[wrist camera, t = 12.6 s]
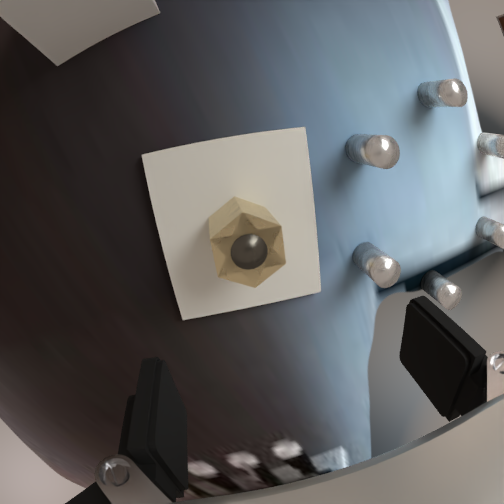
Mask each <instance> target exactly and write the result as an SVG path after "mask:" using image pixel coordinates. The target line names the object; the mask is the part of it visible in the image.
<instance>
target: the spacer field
mask: <svg viewBox="0 0 504 504" xmlns="http://www.w3.org/2000/svg"><path fill="white" fill-rule="evenodd" d="M418 96H419V99H420V101H421V103H422V104H423V105H425V106H426V107H462V106H464V105H465V104H466V102H467V90H466V88H465V86H464V84H463V83H462V82H461V81H460V80H458V79H447V80H439V81H431V82H424V83H422V84H420V86H419V88H418ZM478 148H479V151H480V152H481V153H482V154H484V155H490V156H495V157H500V158H504V135H499V134H491V133H481V134H480V135H479V137H478ZM346 153H347V155H348V157H349V158H350V159H351V160H352V161H353V162H356V163H361V164H365V165H370V166H374V167H378V168H383V169H389V168H392V167H393V166H394V165H395V164H396V163H397V161H398V159H399V154H400V151H399V146H398V144H397V142H396V141H395V140H394V139H393V138H392V137H390V136H387V135H367V134H355V135H353V136H351V137H350V138H349V139H348V141H347V143H346ZM476 233H477V235H478V236H479V237H481V238H483V239H485V240H487V241H489V242H491V243H493V244H495V245H497V246H499V247H501V248H503V249H504V224H501V223H499V222H496V221H494V220H492V219H489V218H487V217H481V218H480V219H479V221H478V222H477V225H476ZM353 261H354V263H355V264H356V265H357V266H358V267H359V268H360V269H361V270H362V271H363V272H364V273H365V274H367V275H368V276H369V277H370V278H371V279H372V280H373V281H374V282H375V283H376V284H377V285H378V286H380V287H382V288H387V287H390V286H392V285H393V284H394V283H395V282H396V281H397V280H398V278H399V276H400V272H401V268H400V265H399V263H398V262H397V261H395V260H394V259H393V258H391V257H390V256H388V255H387V254H386V253H384V252H383V251H381V250H380V249H379V248H377V247H376V246H374V245H373V244H371V243H369V242H364V243H361V244H360V245H358V246H357V247H356V249H355V250H354V253H353ZM421 288H422V289H423V290H424V291H425V292H427V293H428V294H429V295H430V296H431V297H433V298H434V299H435V300H436V301H438V302H439V303H440V304H441V305H443V306H444V307H445V308H446V309H448V310H450V309H453V308H454V307H456V306H457V305H458V303H459V302H460V300H461V297H462V290H461V289H460V288H459V287H457V286H456V285H455V284H453V283H452V282H450V281H449V280H447V279H446V278H445V277H443V276H442V275H440V274H439V273H437V272H436V271H434V270H431V271H428V272H427V273H426V274H425V275H424V276H423V278H422V281H421Z"/></svg>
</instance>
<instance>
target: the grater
mask: <svg viewBox="0 0 504 504" xmlns="http://www.w3.org/2000/svg"><path fill="white" fill-rule="evenodd" d="M157 14H160V11H159V9H158V6H157V4H156V2H155V0H0V17H1V18H3V19H4V20H5V21H6V22H7V23H8V24H9V25H11V26H12V27H13V28H14V29H15V30H16V31H18V32H19V33H20V34H21V35H22V36H23V37H25V38H26V39H27V40H28V41H29V42H30V43H31V44H33V45H34V46H35V47H36V48H37V49H38V50H39V51H41V52H42V53H43V54H44V55H45V56H46V57H47V58H49V59H50V60H51V61H52V62H53V63H54V64H55V65H57V66H59V65H60V64H62V63H64V62H65V61H67V60H68V59H70V58H72V57H73V56H75V55H77V54H78V53H80V52H82V51H83V50H85V49H87V48H89V47H91V46H92V45H94V44H96V43H98V42H100V41H102V40H103V39H105V38H107V37H109V36H111V35H113V34H115V33H117V32H119V31H121V30H123V29H125V28H127V27H130V26H132V25H134V24H136V23H138V22H141V21H143V20H145V19H148V18H150V17H152V16H155V15H157Z"/></svg>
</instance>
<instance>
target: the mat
mask: <svg viewBox="0 0 504 504" xmlns="http://www.w3.org/2000/svg"><path fill="white" fill-rule="evenodd" d="M142 160H143V165H144V170H145V175H146V179H147V184H148V189H149V193H150V198H151V202H152V207H153V211H154V215H155V220H156V224H157V228H158V232H159V236H160V240H161V244H162V248H163V252H164V256H165V260H166V263H167V267H168V271H169V274H170V278H171V282H172V285H173V289H174V292H175V296H176V299H177V303H178V306H179V309H180V313H181V316H182V319H183V320H186V319H192V318H197V317H203V316H208V315H213V314H219V313H224V312H229V311H234V310H239V309H244V308H249V307H254V306H259V305H264V304H268V303H273V302H278V301H282V300H287V299H291V298H296V297H300V296H305V295H309V294H313V293H318V292H321V284H320V268H319V254H318V241H317V229H316V218H315V207H314V197H313V188H312V178H311V170H310V161H309V153H308V145H307V137H306V130H305V127H299V128H290V129H281V130H273V131H265V132H258V133H251V134H244V135H238V136H232V137H226V138H220V139H214V140H209V141H203V142H198V143H193V144H188V145H183V146H178V147H173V148H169V149H164V150H160V151H156V152H151V153H147V154H143V155H142ZM234 196H235V197H238V198H241V199H244V200H246V201H249V202H252V203H255V204H258V205H261V206H263V207H266V209H267V210H268V211H269V212H270V213H271V214H272V215H273V217H274V218H275V219H276V220H277V221H278V222H279V223H280V225H281V226H282V234H283V242H284V250H285V259H286V264H285V265H284V266H282V267H281V268H280V269H279V270H277V271H276V272H275V273H274V274H272V275H271V276H270V277H269V278H267V279H266V280H265V281H264V282H262V283H261V284H260V285H258V286H257V287H256V288H253V287H250V286H246V285H243V284H239V283H236V282H232V281H229V280H226V279H222V278H219V277H218V276H217V271H216V266H215V261H214V257H213V252H212V247H211V242H210V234H209V219H208V218H209V217H210V216H211V215H212V214H214V213H215V212H216V211H217V210H218V209H220V208H221V207H222V206H223V205H224V204H225V203H227V202H228V201H229V200H230V199H232V198H233V197H234Z"/></svg>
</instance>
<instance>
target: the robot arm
mask: <svg viewBox="0 0 504 504" xmlns="http://www.w3.org/2000/svg"><path fill="white" fill-rule="evenodd" d="M485 354H486V351H485V350H484V349H483V348H482V347H481V346H480V345H479V344H478V343H477V342H476V341H475V340H474V339H473V338H471V337H470V336H469V335H468V334H467V333H466V332H465V331H464V330H463V329H462V328H461V327H459V326H458V325H457V324H456V323H455V322H454V321H453V320H452V319H451V318H449V317H448V316H447V315H446V314H445V313H444V312H443V311H442V310H440V309H439V308H438V307H437V306H436V305H434V304H433V303H432V302H431V301H430V300H429V299H428V298H426V297H425V296H420V297H418V298H415V299H412V300H410V302H409V304H408V305H407V307H406V315H405V323H404V330H403V337H402V343H401V349H400V361H401V363H402V364H403V365H404V366H405V368H406V369H407V371H408V372H409V373H410V375H411V376H412V377H413V378H414V380H415V381H416V382H417V384H418V385H419V386H420V388H421V389H422V390H423V392H424V393H425V394H426V396H427V397H428V398H429V400H430V401H431V402H432V404H433V405H434V406H435V408H436V409H437V410H438V412H439V413H440V414H441V416H443V417H444V416H445V417H446V418H447V419H448V421H449V422H450V421H451V420H453V419H455V418H457V417H459V416H460V415H461V417H460V418H458V419H456V420H454V421H452V422H451V423H449V424H447V425H445V426H443V427H441V428H439V429H437V430H435V431H433V432H431V433H429V434H427V435H425V436H423V437H421V438H419V439H417V440H414V441H412V442H410V443H408V444H406V445H403V446H401V447H399V448H396V449H394V450H392V451H389V452H387V453H384V454H382V455H379V456H377V457H374V458H371V459H369V460H366V461H363V462H360V463H358V464H355V465H352V466H349V467H346V468H343V469H340V470H337V471H333V472H330V473H327V474H323V475H320V476H316V477H313V478H309V479H305V480H301V481H297V482H293V483H289V484H285V485H280V486H276V487H271V488H266V489H261V490H255V491H250V492H244V493H238V494H232V495H225V496H218V497H209V498H202V499H195V500H187V501H181V502H176V498H180V497H184V490H187V489H188V464H187V413H186V408H185V406H184V404H183V402H182V399H181V397H180V395H179V393H178V390H177V388H176V386H175V383H174V381H173V379H172V376H171V374H170V372H169V369H168V367H167V364H166V362H165V361H164V360H162V361H160V359H159V358H158V357H155V358H147V359H143V360H142V364H141V369H140V374H139V379H138V384H137V390H136V395H132V396H129V398H128V401H127V406H126V411H125V416H124V422H123V427H122V433H121V439H120V445H119V451H118V455H111V456H108V457H106V458H104V459H103V460H102V461H100V462H99V464H98V465H97V467H96V469H95V480H96V482H94V483H93V484H92V485H90V486H89V487H88V488H86V489H85V490H84V491H83V492H81V493H79V494H78V495H77V496H75V497H74V498H72V499H71V500H70V501H68V502H67V503H65V504H504V351H496V352H493V353H492V354H490V355H489V357H487V356H486V355H485Z"/></svg>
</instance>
